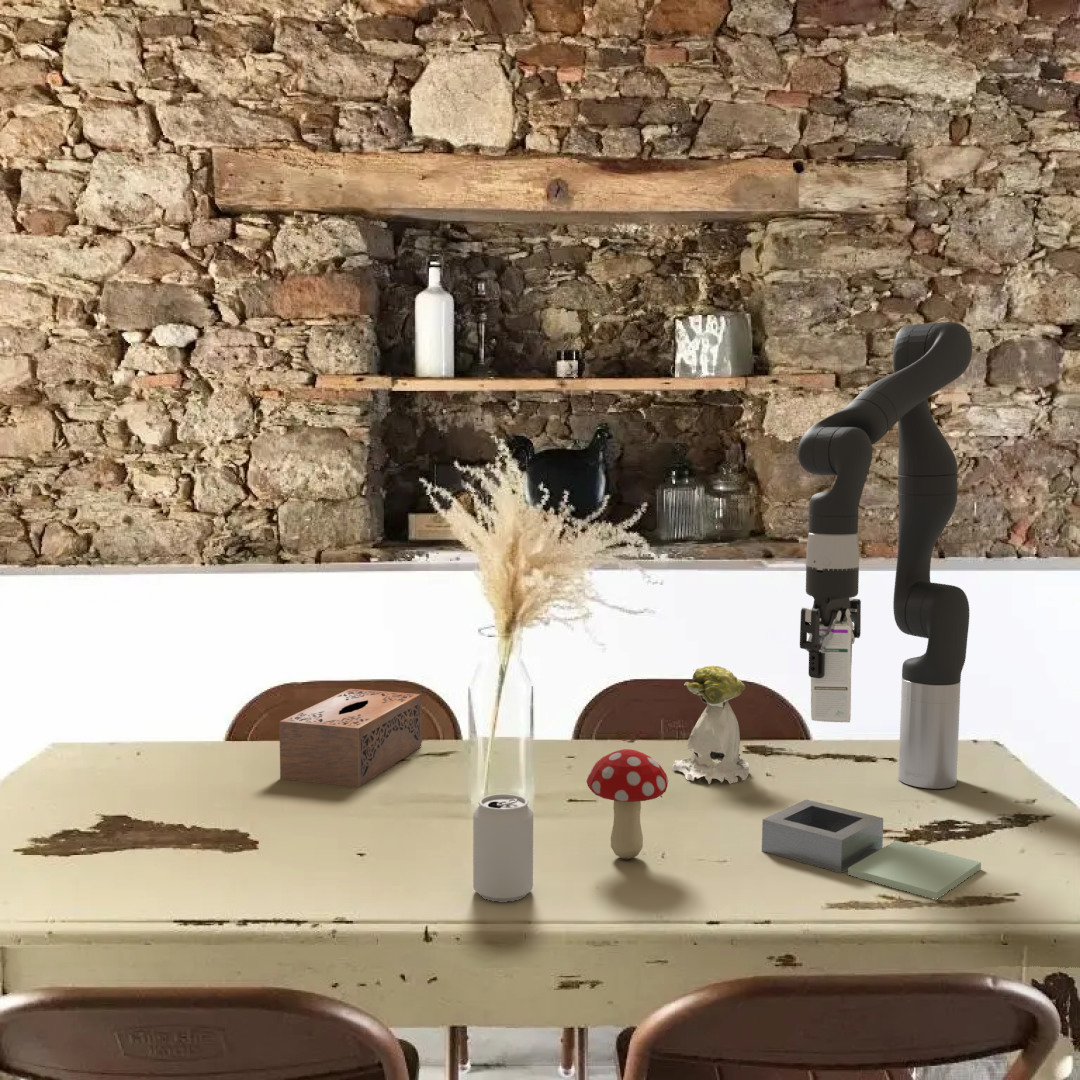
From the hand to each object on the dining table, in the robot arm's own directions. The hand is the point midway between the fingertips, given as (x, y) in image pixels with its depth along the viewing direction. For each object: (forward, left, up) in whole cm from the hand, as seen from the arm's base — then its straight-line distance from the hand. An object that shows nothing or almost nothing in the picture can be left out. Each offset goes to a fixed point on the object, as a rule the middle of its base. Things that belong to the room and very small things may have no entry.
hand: (830, 672), depth 173 cm
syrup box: (0, 0, -7) cm, 7 cm away
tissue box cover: (+29, -76, -23) cm, 84 cm away
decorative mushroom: (+33, -12, -23) cm, 42 cm away
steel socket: (+12, +6, -22) cm, 26 cm away
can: (+53, -16, -23) cm, 60 cm away
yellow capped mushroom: (-8, -26, -23) cm, 35 cm away
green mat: (+11, +19, -22) cm, 31 cm away
